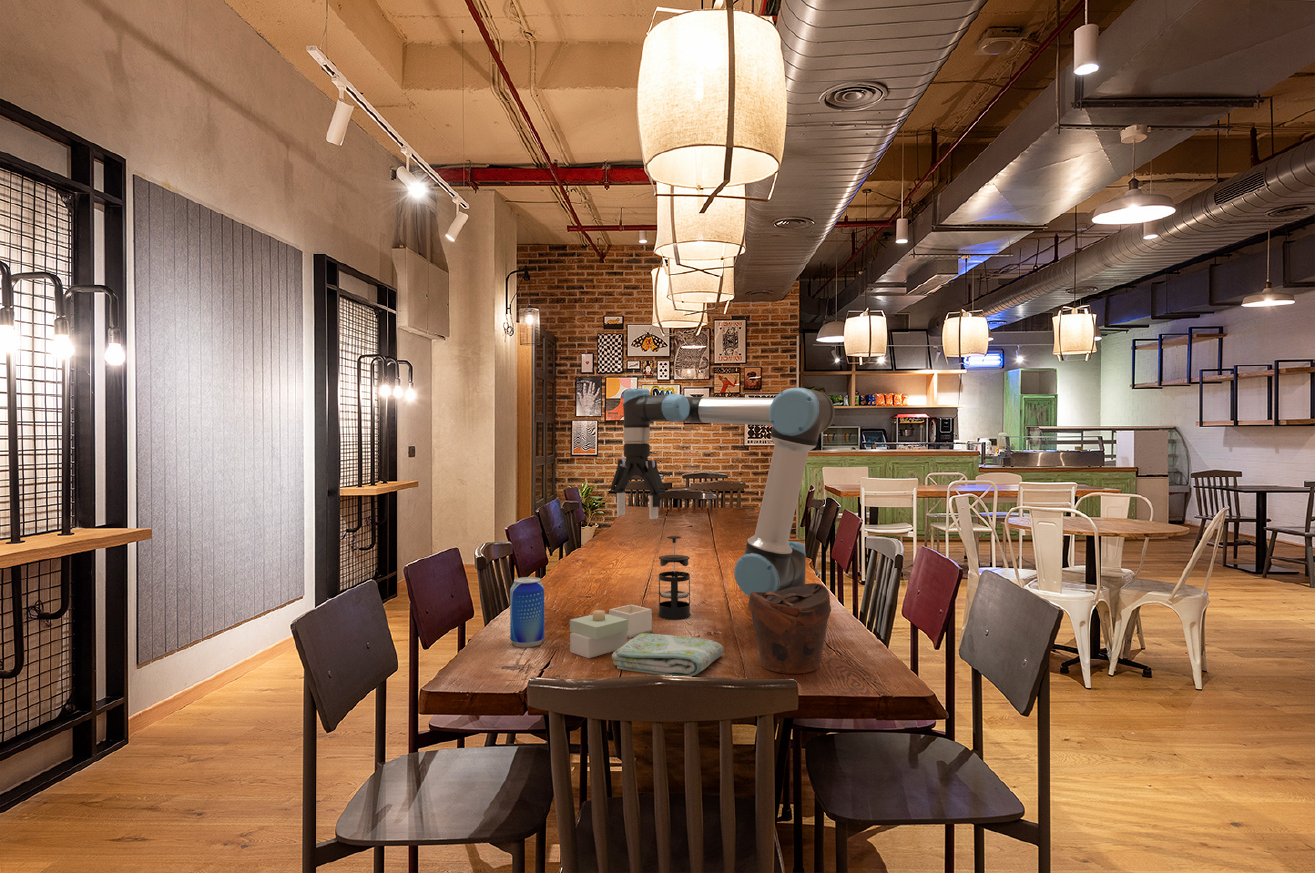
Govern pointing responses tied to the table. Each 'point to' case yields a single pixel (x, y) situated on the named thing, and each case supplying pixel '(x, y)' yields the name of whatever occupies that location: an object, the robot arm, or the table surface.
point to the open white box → (635, 619)
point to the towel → (667, 654)
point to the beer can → (527, 612)
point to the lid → (598, 625)
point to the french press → (674, 588)
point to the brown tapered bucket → (791, 627)
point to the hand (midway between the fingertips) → (637, 517)
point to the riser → (596, 644)
